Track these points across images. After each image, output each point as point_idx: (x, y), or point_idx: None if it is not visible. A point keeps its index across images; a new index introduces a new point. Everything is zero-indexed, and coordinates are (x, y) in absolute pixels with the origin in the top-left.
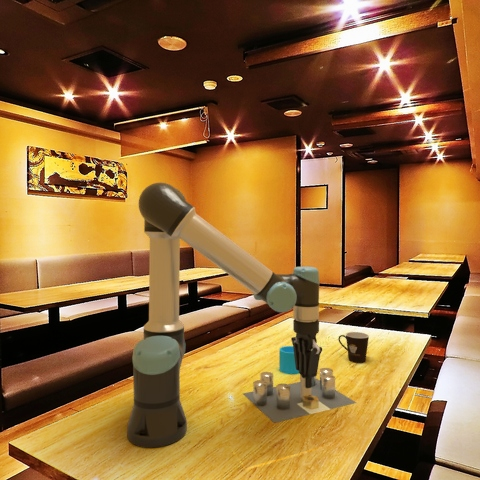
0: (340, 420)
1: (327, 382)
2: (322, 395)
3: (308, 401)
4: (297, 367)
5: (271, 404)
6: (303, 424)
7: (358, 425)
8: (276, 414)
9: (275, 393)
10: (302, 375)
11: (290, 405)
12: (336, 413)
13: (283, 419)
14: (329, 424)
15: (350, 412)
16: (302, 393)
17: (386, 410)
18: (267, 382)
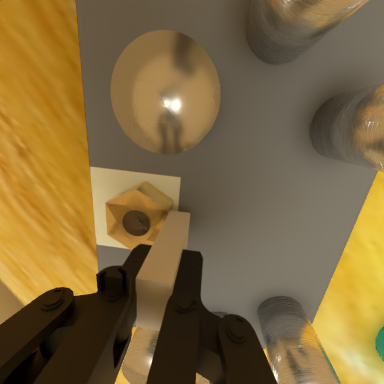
0: (43, 224)
1: (136, 340)
2: None
3: (117, 199)
4: (226, 343)
5: (232, 71)
6: (52, 103)
7: (7, 242)
8: (138, 31)
9: (310, 161)
10: (126, 281)
11: None
12: (82, 244)
13: (87, 34)
14: (30, 181)
15: (75, 275)
16: (173, 220)
17: None
18: (371, 101)
